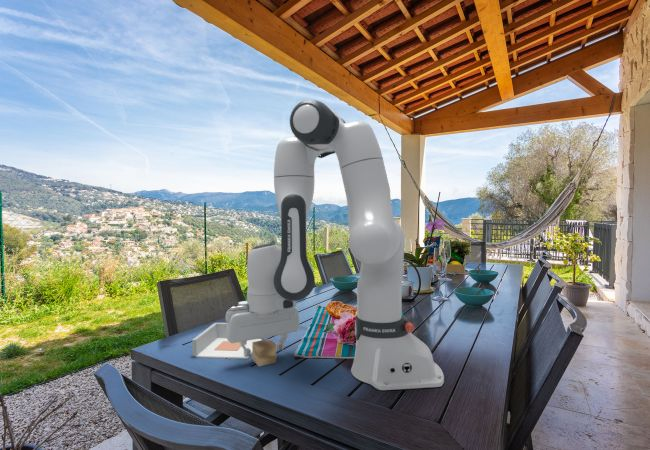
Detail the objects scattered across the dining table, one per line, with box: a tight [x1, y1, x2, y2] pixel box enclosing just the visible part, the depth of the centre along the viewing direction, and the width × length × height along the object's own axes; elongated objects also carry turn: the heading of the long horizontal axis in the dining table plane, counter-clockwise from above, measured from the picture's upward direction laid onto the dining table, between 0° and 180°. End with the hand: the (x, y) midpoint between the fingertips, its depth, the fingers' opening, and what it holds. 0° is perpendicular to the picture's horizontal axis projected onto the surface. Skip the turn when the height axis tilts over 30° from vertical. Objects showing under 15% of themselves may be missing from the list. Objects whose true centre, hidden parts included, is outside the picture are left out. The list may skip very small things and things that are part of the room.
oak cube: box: [252, 338, 277, 367], centre depth 96 cm, size 5×5×5 cm
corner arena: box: [191, 322, 264, 360], centre depth 107 cm, size 16×16×5 cm
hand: (264, 352), depth 97 cm, fingers open, 8 cm apart
